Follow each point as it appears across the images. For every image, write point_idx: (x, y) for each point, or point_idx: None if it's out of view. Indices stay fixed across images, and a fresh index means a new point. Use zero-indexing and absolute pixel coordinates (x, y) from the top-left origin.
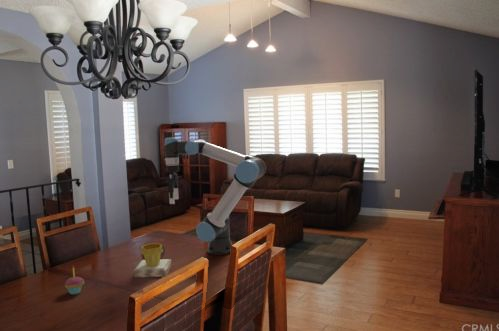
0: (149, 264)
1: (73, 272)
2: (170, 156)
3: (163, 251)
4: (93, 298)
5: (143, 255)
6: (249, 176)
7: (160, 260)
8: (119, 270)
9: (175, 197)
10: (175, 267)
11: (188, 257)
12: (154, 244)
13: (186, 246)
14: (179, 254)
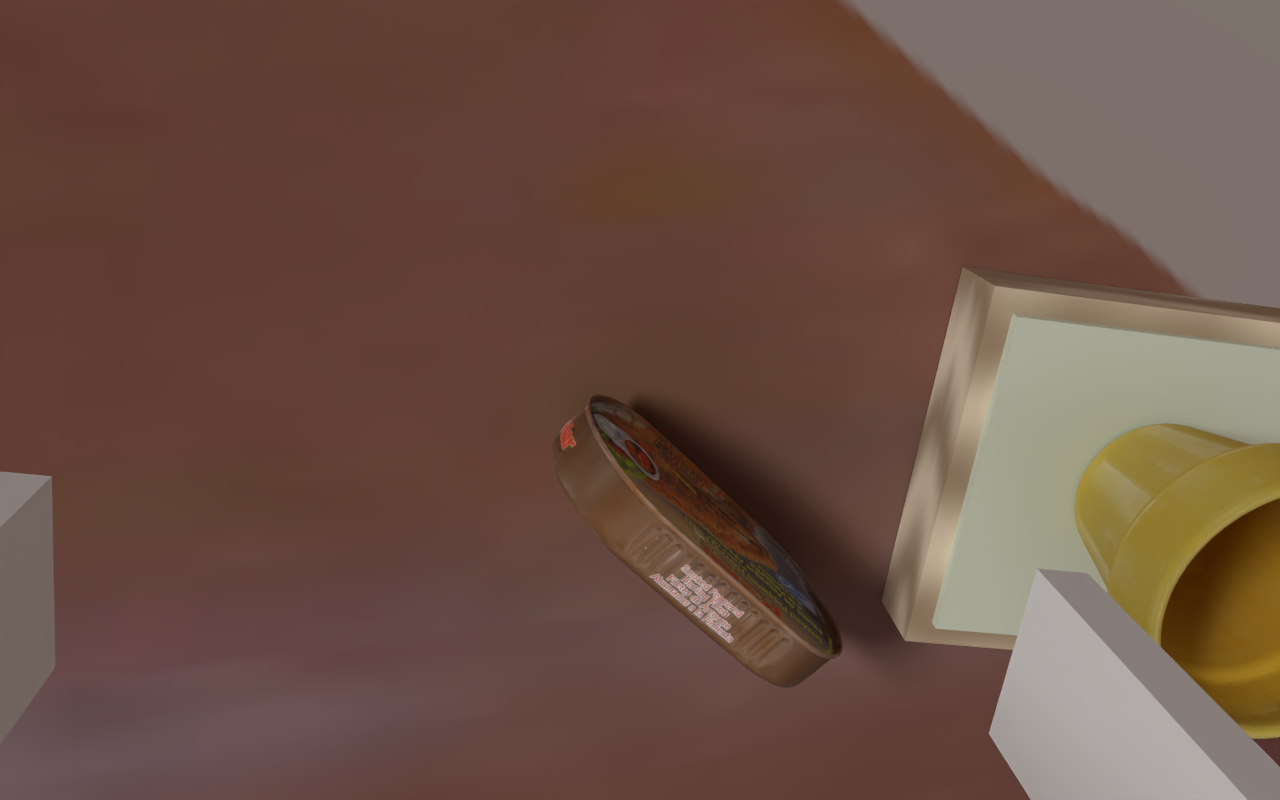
0: (1228, 536)
1: None
2: None
3: (594, 414)
4: None
5: (833, 648)
6: None
7: (1036, 421)
8: (931, 796)
9: (17, 645)
10: (1047, 213)
11: (689, 38)
12: (1167, 586)
13: (103, 69)
14: (515, 175)
